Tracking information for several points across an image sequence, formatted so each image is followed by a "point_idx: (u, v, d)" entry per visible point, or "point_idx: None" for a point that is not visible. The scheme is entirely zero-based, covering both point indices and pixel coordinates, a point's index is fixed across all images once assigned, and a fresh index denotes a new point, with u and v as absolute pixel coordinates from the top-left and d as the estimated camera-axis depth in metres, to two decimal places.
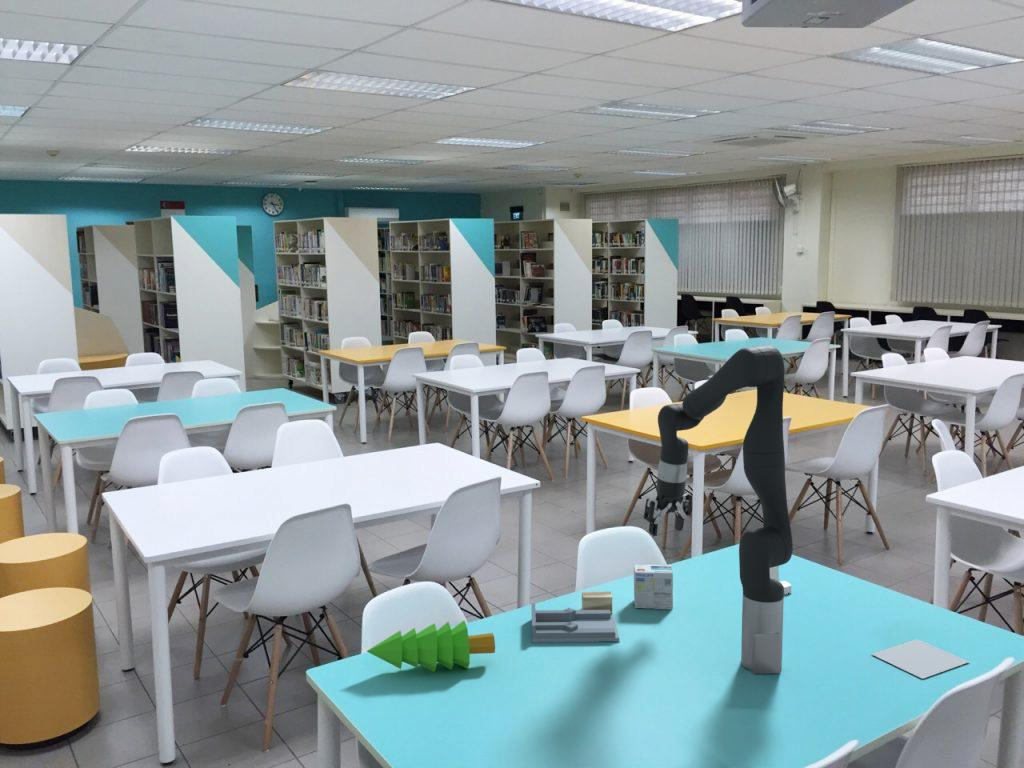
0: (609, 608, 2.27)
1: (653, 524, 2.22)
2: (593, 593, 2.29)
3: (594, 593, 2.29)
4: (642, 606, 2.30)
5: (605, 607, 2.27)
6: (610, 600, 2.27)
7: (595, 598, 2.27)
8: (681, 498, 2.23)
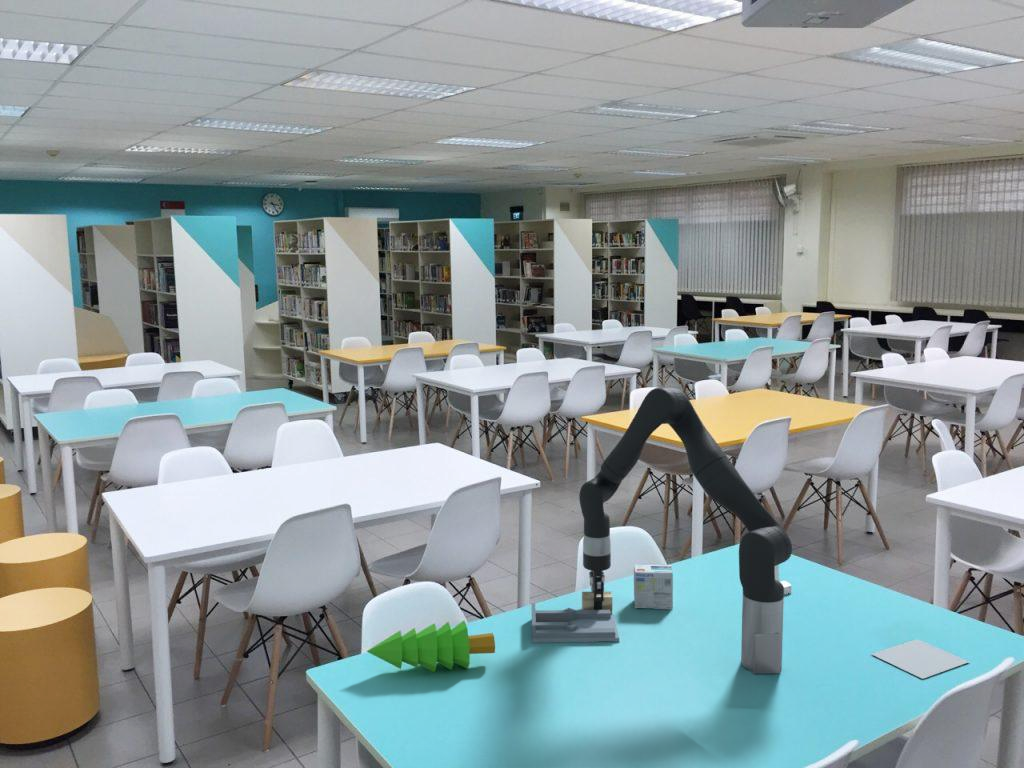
0: (609, 608, 2.27)
1: (600, 602, 2.25)
2: None
3: None
4: (642, 606, 2.30)
5: (605, 607, 2.27)
6: (610, 600, 2.27)
7: None
8: None
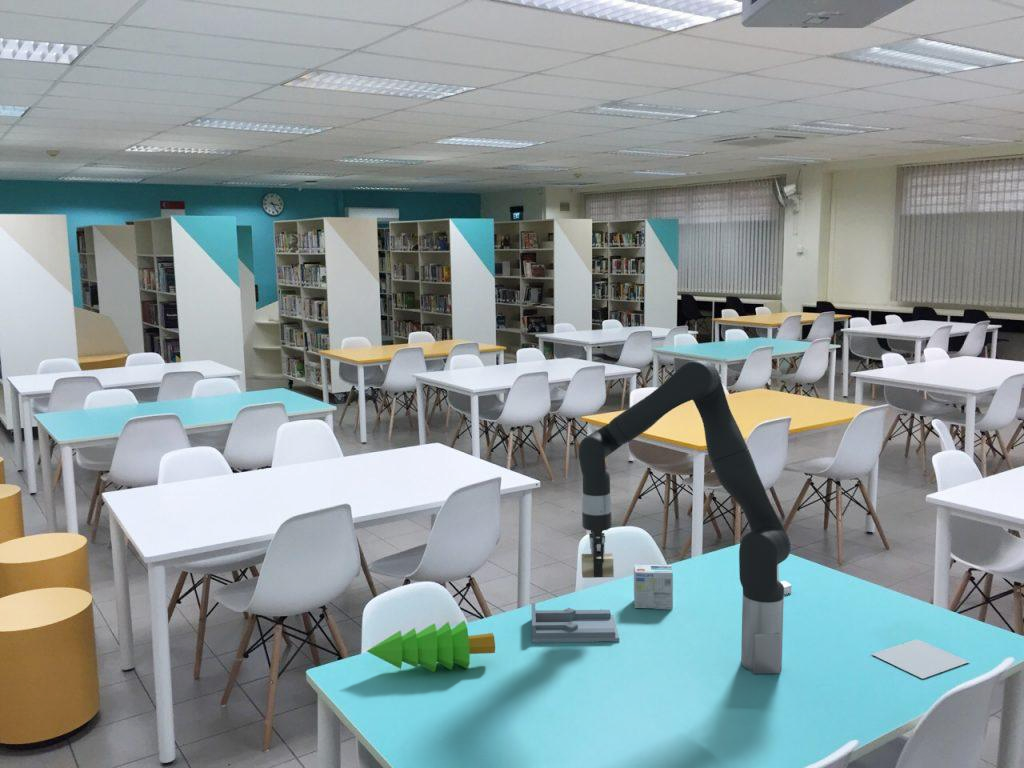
0: (610, 570, 2.15)
1: (600, 565, 2.14)
2: None
3: None
4: (642, 606, 2.30)
5: (606, 569, 2.15)
6: (611, 562, 2.15)
7: None
8: None
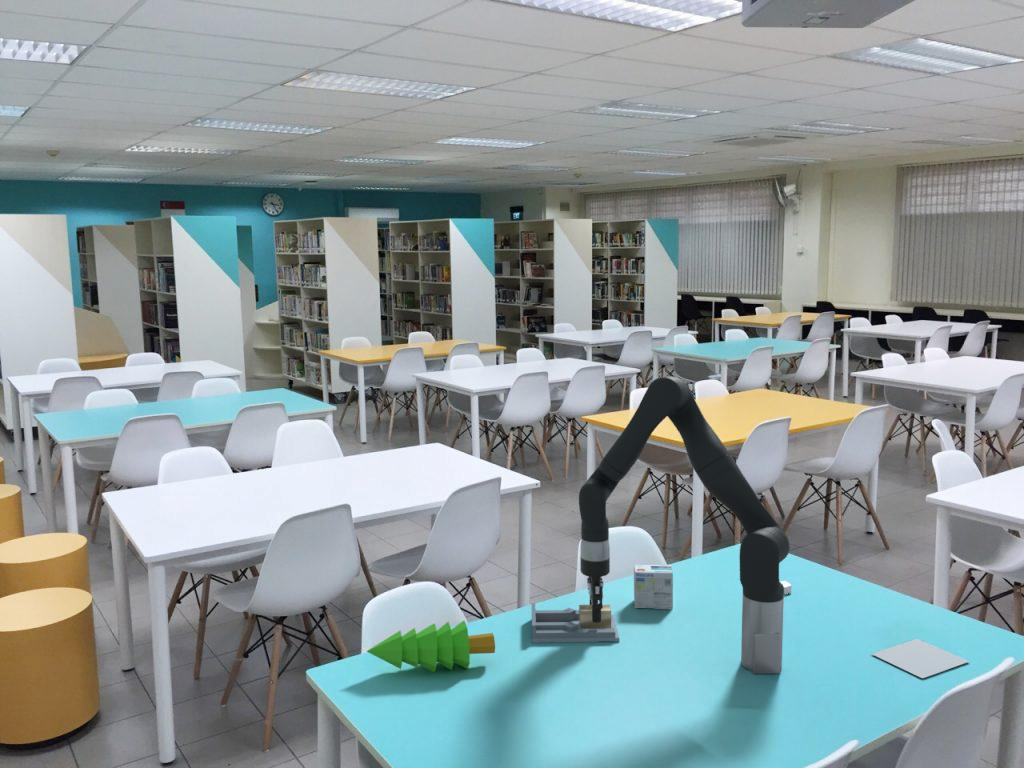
0: (608, 622, 2.15)
1: None
2: None
3: None
4: (642, 606, 2.30)
5: (604, 621, 2.15)
6: (609, 614, 2.15)
7: None
8: None
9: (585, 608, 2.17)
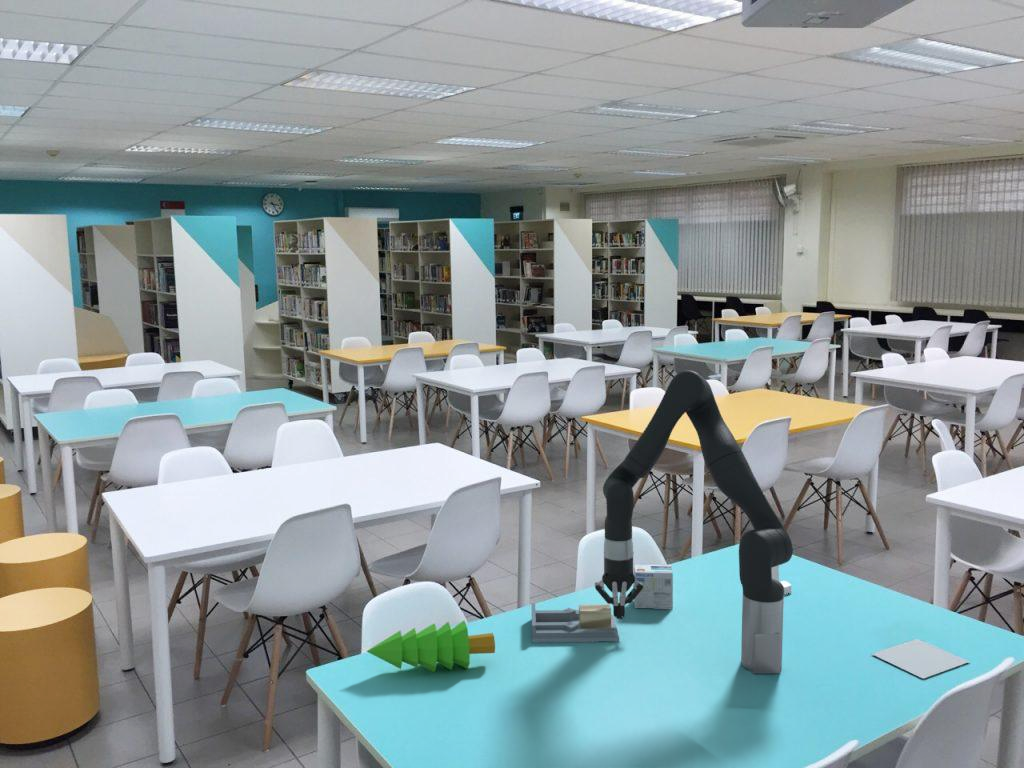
0: (608, 622, 2.15)
1: None
2: (591, 606, 2.18)
3: (592, 606, 2.18)
4: (642, 606, 2.30)
5: (604, 621, 2.15)
6: (609, 614, 2.15)
7: (593, 611, 2.15)
8: None
9: (585, 608, 2.17)
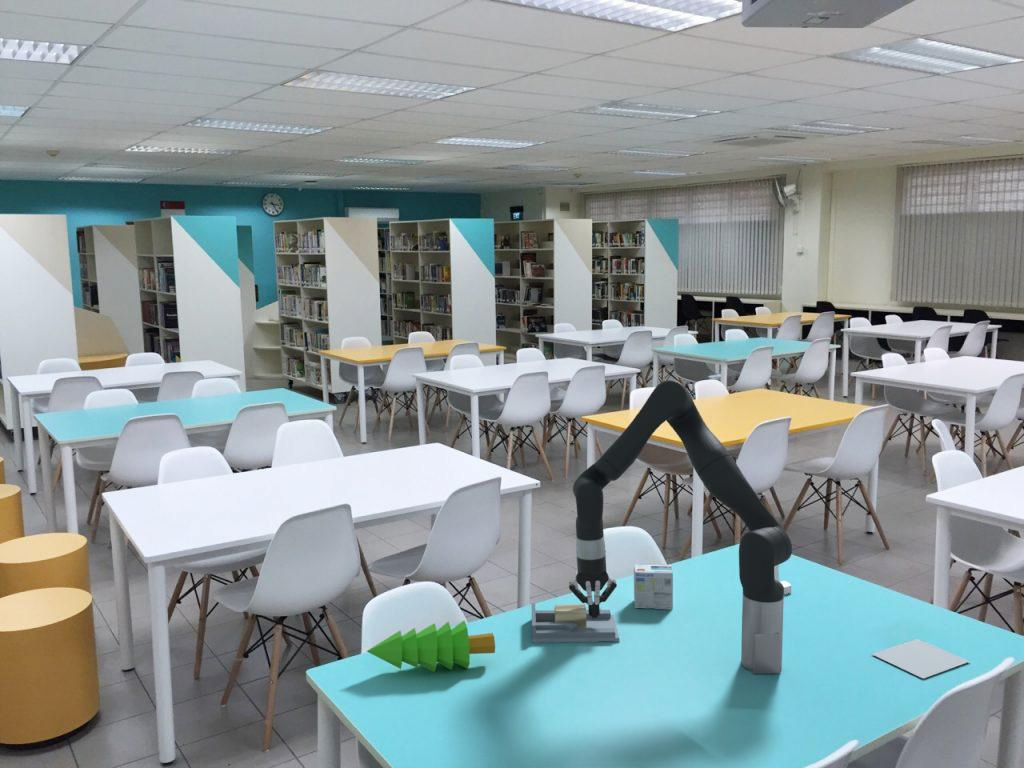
0: (583, 622, 2.16)
1: None
2: (566, 606, 2.18)
3: (567, 606, 2.18)
4: (642, 606, 2.30)
5: (579, 621, 2.16)
6: (584, 614, 2.15)
7: (568, 611, 2.15)
8: None
9: (560, 608, 2.17)
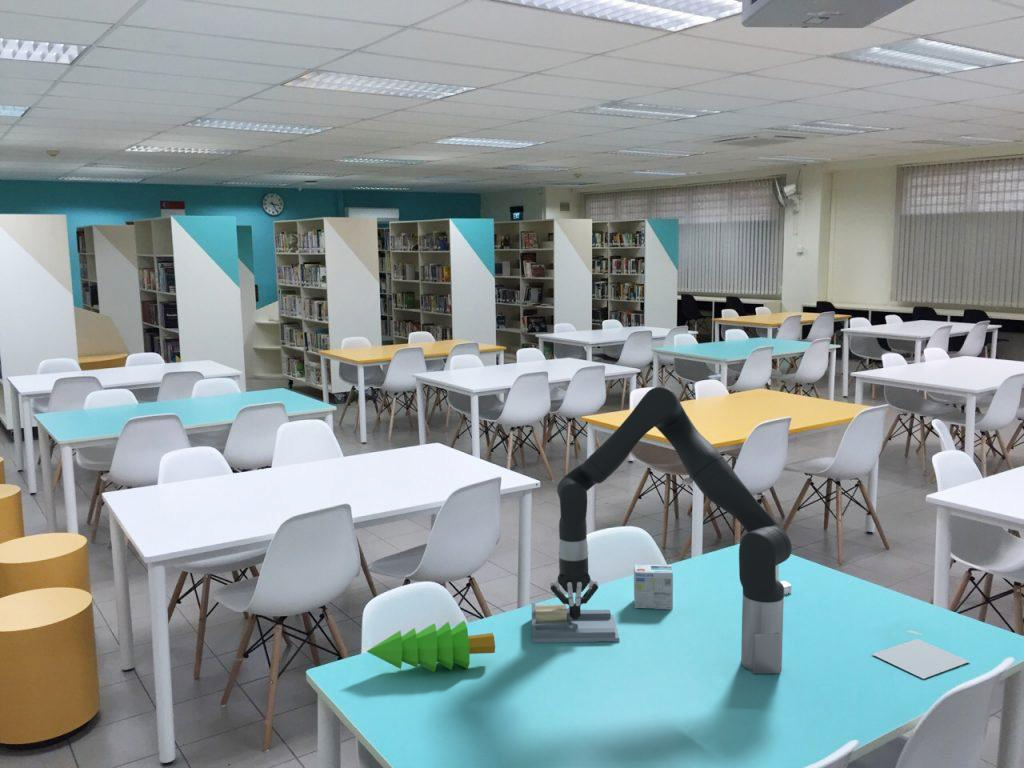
0: None
1: None
2: (547, 607, 2.18)
3: (548, 607, 2.18)
4: (642, 606, 2.30)
5: None
6: (564, 614, 2.15)
7: (548, 612, 2.15)
8: None
9: (541, 608, 2.17)
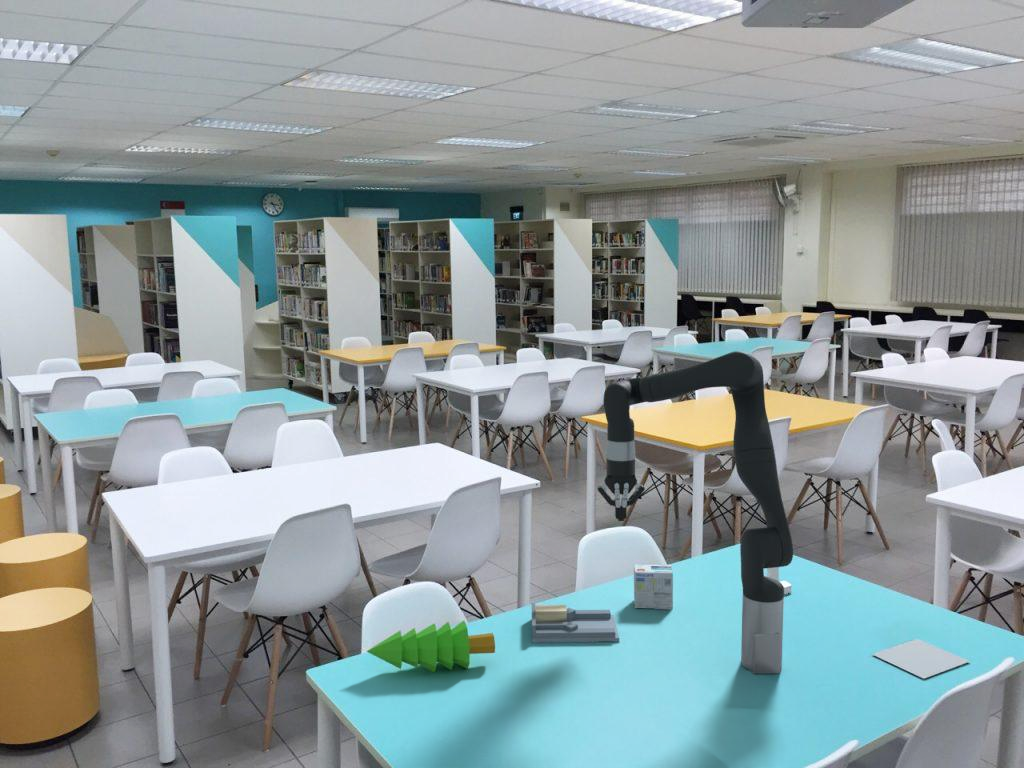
0: None
1: None
2: (547, 607, 2.18)
3: (548, 607, 2.18)
4: (642, 606, 2.30)
5: None
6: (564, 614, 2.15)
7: (548, 612, 2.15)
8: None
9: (541, 608, 2.17)
